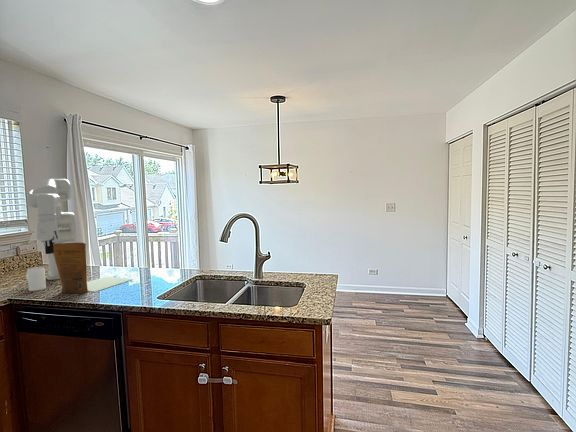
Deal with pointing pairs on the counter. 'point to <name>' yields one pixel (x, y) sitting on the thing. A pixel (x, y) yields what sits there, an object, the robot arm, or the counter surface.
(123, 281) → the silicone mat
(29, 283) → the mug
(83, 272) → the pancake mix bag
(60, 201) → the robot arm
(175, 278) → the counter surface
